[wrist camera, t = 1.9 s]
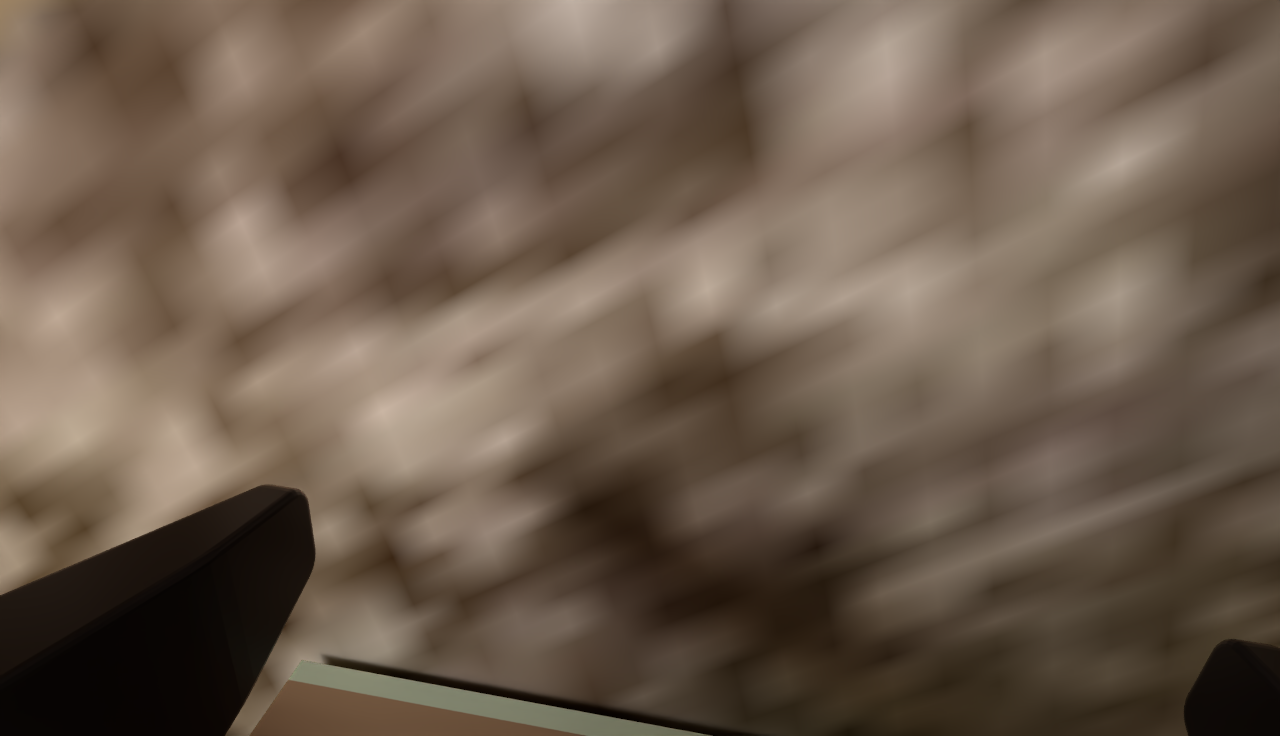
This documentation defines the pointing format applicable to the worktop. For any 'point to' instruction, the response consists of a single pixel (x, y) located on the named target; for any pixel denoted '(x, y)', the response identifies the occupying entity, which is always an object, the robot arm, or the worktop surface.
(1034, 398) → the worktop surface
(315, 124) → the worktop surface
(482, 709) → the wooden handled dough scraper
